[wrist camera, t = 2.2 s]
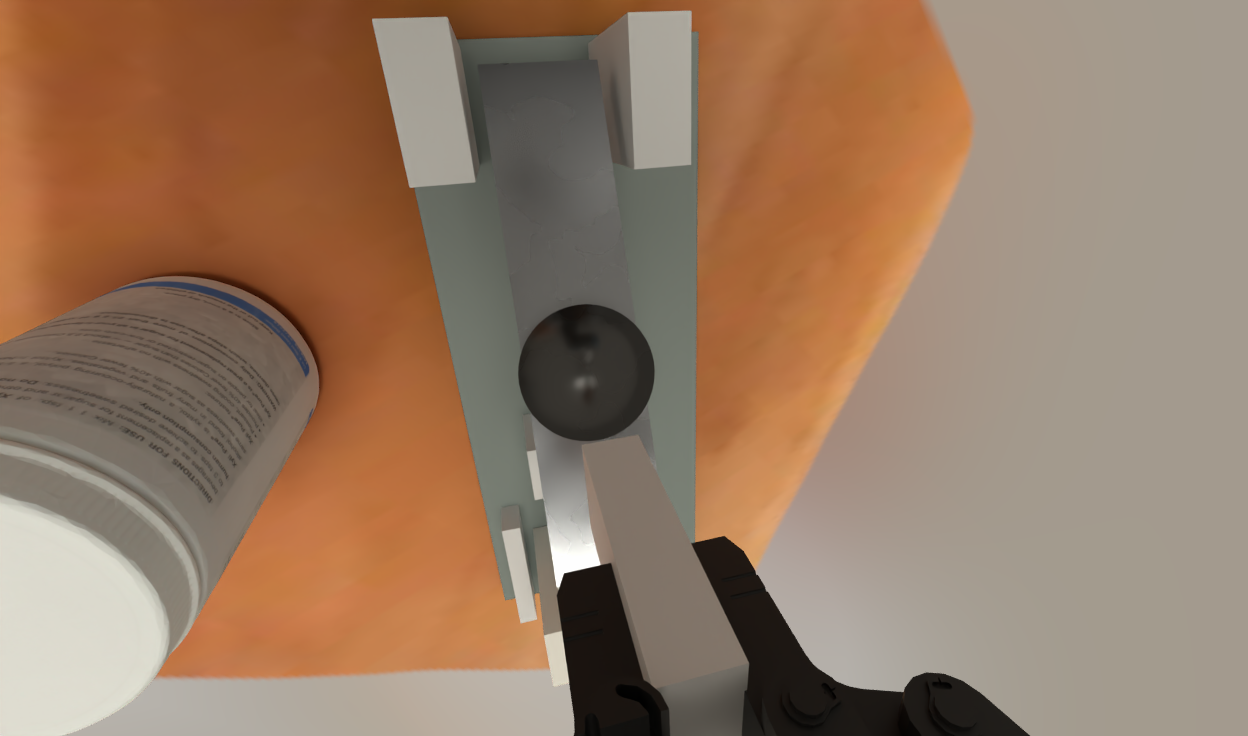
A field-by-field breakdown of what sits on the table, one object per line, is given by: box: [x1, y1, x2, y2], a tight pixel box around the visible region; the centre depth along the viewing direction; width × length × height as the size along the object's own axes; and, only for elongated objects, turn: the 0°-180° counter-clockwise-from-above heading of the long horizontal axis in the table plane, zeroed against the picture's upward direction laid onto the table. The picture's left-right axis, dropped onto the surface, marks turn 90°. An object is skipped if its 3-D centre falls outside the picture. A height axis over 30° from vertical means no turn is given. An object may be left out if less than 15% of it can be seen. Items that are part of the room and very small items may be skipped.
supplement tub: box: [0, 276, 319, 736], centre depth 19 cm, size 10×10×15 cm
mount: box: [372, 11, 698, 623], centre depth 26 cm, size 31×13×8 cm, turn 3°
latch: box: [533, 526, 569, 687], centre depth 29 cm, size 9×6×8 cm, turn 3°
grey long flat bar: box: [477, 60, 658, 587], centre depth 18 cm, size 18×4×2 cm, turn 3°
